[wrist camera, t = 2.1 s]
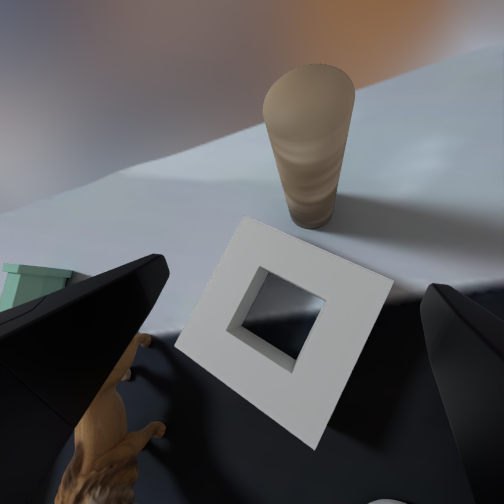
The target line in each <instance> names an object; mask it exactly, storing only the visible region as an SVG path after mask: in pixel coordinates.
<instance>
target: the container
mask: <svg viewBox="0 0 504 504" xmlns="http://www.w3.org/2000/svg"><path fill="white" fill-rule="evenodd" d="M2 271H4V272H8V275H7V278H6V282H5V285H4V289H3V293H2V296H1V300H0V312H1V311H4V310H7V309H10V308H13V307H15V306H18V305H21V304H23V303H26V302H29V301H31V300H34V299H37V298H39V297H42V296H44V295H47V294H48V295H49V294H50V293H52V292H55V291H57V290H60V289H63V288H65V283H66V279H67V277H68V278H71V276H72V270H64V269H56V268H47V267H38V266H28V265H19V264H8V263H4V266H3V269H2Z"/></svg>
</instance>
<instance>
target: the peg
mask: <svg viewBox="0 0 504 504" xmlns="http://www.w3.org/2000/svg"><path fill="white" fill-rule="evenodd" d="M354 100H355V90H354V85H353V83H352V81H351V79H350V78H349V77H348V75H347V74H346V73H344V72H343V71H342V70H340V69H338V68H336V67H334V66H330V65H326V64H310V65H305V66H302V67H298V68H296V69H294V70H291V71H290V72H288V73H286V74H285V75H283V76H282V77H281V78H280V79H279V80H277V81H276V82H275V84H273V86H272V87H271V88H270V90H269V91H268V93H267V95H266V97H265V100H264V105H263V116H264V120H265V124H266V127H267V131H268V135H269V138H270V142H271V146H272V149H273V153H274V157H275V161H276V164H277V168H278V172H279V175H280V179H281V183H282V186H283V190H284V194H285V197H286V201H287V205H288V208H289V212H290V216H291V218H292V220H293V221H294V223H295V224H297V225H298V226H300V227H302V228H305V229H315V228H319V227H321V226H323V225H324V224H325V223H327V222H328V220H329V219H330V217H331V215H332V212H333V207H334V202H335V197H336V192H337V186H338V181H339V176H340V171H341V166H342V161H343V156H344V151H345V146H346V141H347V136H348V131H349V126H350V121H351V116H352V111H353V106H354Z"/></svg>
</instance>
